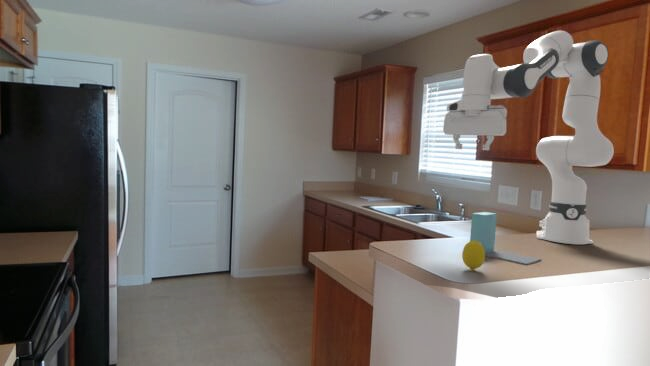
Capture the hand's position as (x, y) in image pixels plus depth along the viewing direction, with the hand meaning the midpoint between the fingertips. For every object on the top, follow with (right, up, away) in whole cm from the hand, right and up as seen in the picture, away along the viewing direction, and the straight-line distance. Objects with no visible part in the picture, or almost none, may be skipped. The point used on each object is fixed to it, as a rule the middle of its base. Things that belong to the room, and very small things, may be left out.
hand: (471, 149), depth 141 cm
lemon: (-9, -33, -27) cm, 44 cm away
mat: (+8, -33, -10) cm, 35 cm away
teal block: (+2, -32, -3) cm, 32 cm away
